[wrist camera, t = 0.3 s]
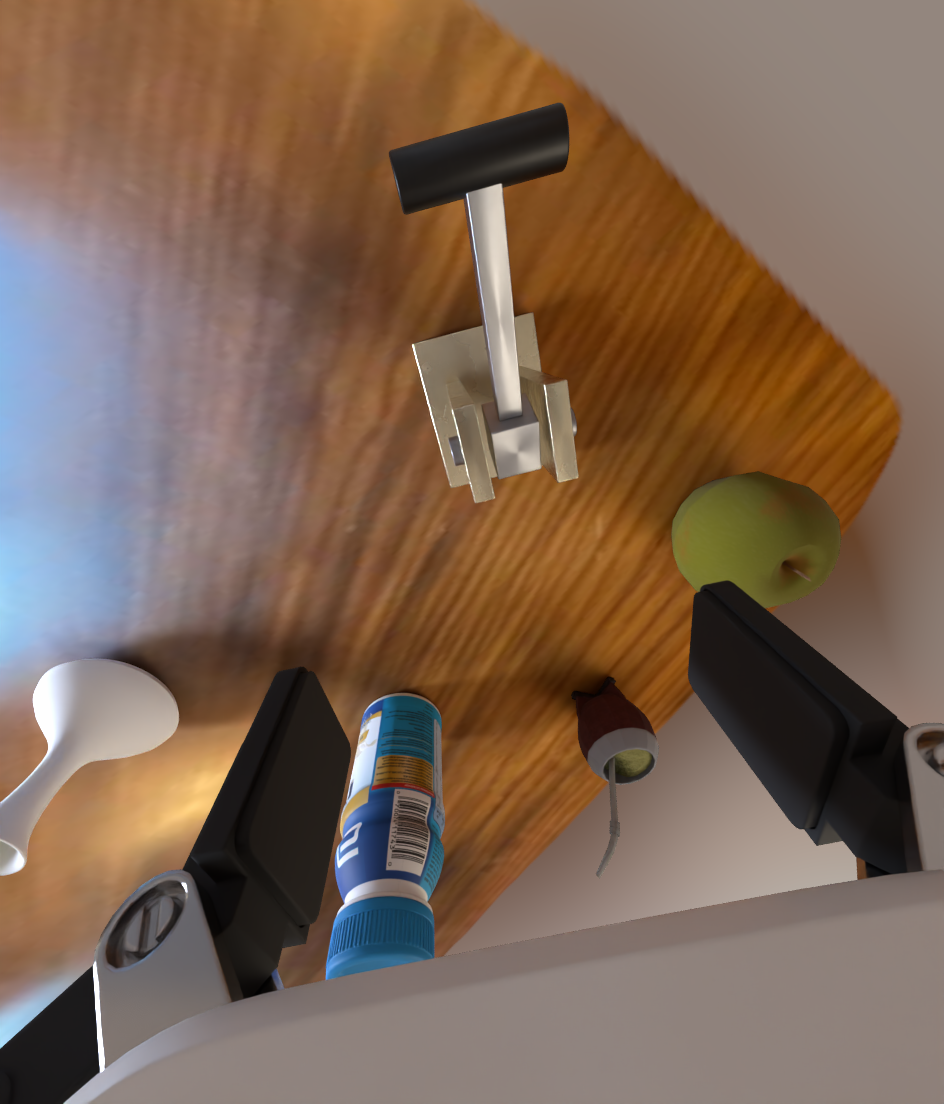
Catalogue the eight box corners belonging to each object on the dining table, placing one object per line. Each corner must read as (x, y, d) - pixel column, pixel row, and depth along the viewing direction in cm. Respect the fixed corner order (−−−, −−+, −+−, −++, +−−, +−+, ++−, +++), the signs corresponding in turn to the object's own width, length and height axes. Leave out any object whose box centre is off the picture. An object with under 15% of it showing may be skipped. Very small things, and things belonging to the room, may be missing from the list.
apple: (647, 573, 37) (721, 655, 28) (653, 469, 33) (745, 523, 23) (755, 555, 38) (868, 630, 28) (776, 449, 33) (919, 495, 23)
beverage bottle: (455, 730, 45) (468, 986, 27) (385, 754, 46) (353, 1018, 28) (422, 677, 41) (411, 934, 23) (346, 705, 42) (280, 973, 24)
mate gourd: (642, 680, 44) (732, 830, 30) (607, 731, 47) (676, 886, 34) (579, 667, 42) (645, 818, 29) (548, 720, 45) (595, 878, 32)
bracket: (412, 343, 28) (396, 346, 16) (529, 312, 27) (596, 293, 16) (450, 483, 32) (458, 561, 21) (550, 458, 32) (614, 523, 21)
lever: (386, 144, 12) (390, 159, 11) (550, 97, 12) (576, 106, 11) (463, 456, 22) (470, 486, 20) (555, 432, 22) (569, 462, 20)
